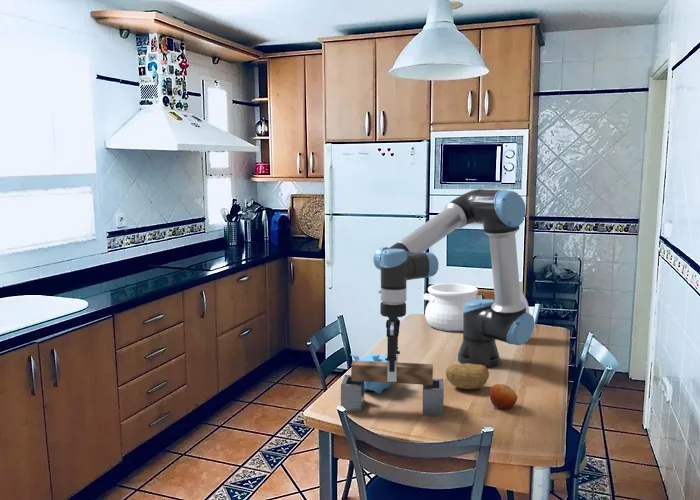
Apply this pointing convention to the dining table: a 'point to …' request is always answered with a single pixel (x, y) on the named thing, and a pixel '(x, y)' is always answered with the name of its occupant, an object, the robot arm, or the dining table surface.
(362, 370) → the rail
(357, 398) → the bracket
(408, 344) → the dining table surface
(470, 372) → the potato
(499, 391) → the fruit
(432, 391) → the bracket
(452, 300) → the pot
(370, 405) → the dining table surface
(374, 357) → the teapot
